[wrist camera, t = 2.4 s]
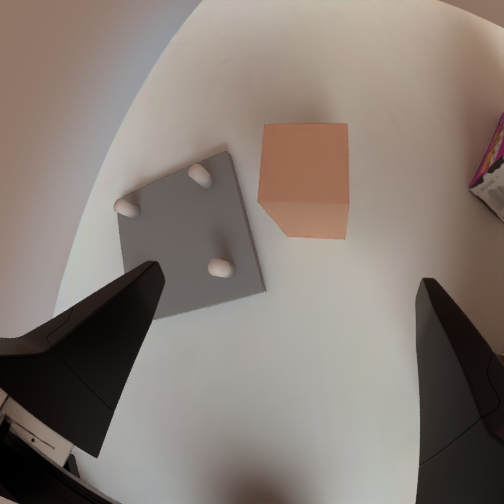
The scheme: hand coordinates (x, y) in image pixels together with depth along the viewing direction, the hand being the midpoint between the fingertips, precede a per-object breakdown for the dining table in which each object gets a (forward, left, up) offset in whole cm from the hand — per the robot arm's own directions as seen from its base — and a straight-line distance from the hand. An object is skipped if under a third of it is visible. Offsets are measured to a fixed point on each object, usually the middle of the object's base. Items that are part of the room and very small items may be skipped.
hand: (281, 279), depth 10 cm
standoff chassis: (+12, -2, -13) cm, 18 cm away
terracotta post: (+1, -6, -13) cm, 15 cm away
